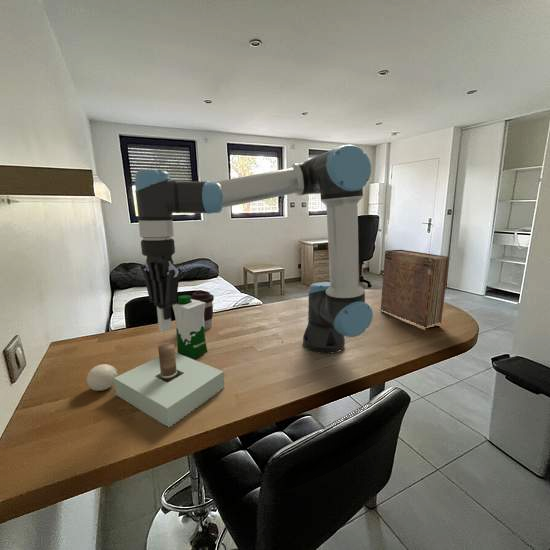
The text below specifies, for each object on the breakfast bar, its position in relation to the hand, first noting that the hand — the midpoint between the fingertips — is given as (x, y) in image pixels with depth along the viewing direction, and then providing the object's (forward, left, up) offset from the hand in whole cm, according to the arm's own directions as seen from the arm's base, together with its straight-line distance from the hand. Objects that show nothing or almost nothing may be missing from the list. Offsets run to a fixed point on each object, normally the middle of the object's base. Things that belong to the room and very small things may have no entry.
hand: (165, 330), depth 74 cm
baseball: (+17, +9, -18) cm, 26 cm away
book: (-45, -93, -18) cm, 105 cm away
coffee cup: (+26, -36, -18) cm, 48 cm away
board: (0, 0, -18) cm, 18 cm away
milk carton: (+12, -18, -18) cm, 28 cm away
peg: (0, 0, -18) cm, 18 cm away
